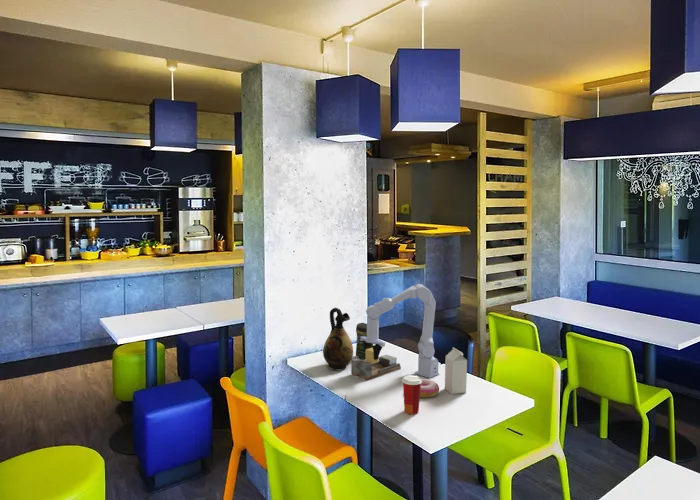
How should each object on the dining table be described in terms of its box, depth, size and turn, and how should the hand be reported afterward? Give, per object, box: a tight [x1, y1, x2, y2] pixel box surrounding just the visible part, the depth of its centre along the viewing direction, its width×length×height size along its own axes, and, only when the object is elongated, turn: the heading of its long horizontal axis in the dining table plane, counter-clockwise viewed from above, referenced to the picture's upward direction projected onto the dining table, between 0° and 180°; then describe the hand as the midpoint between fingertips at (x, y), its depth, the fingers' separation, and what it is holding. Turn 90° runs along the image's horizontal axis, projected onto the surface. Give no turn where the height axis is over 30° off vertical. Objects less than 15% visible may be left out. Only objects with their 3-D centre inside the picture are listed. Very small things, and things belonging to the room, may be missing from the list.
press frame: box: [350, 358, 402, 381], centre depth 253 cm, size 11×24×8 cm, turn 134°
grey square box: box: [379, 354, 398, 367], centre depth 259 cm, size 7×6×4 cm
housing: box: [364, 348, 380, 364], centre depth 248 cm, size 4×4×6 cm
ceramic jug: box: [322, 307, 354, 371], centre depth 260 cm, size 17×15×30 cm
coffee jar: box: [355, 322, 374, 360], centre depth 276 cm, size 10×8×19 cm
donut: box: [420, 378, 440, 399], centre depth 227 cm, size 14×13×5 cm
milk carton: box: [444, 347, 468, 395], centre depth 229 cm, size 7×7×19 cm
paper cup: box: [401, 374, 422, 416], centre depth 206 cm, size 8×8×14 cm
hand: (372, 358), depth 248 cm, fingers closed on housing, 4 cm apart
